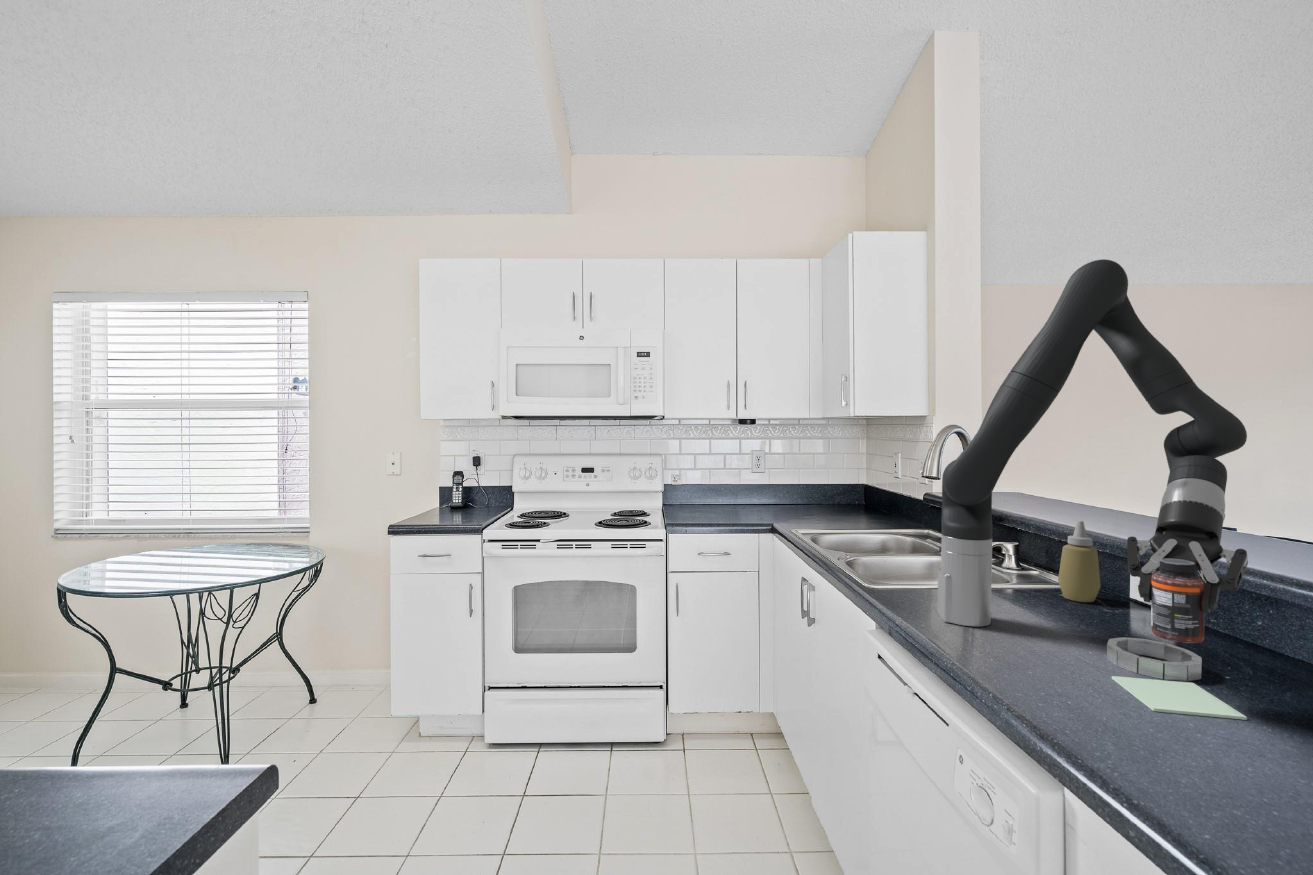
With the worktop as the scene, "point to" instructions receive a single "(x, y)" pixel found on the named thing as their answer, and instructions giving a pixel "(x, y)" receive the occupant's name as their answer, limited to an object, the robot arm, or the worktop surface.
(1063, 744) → the worktop surface
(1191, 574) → the supplement bottle
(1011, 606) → the worktop surface
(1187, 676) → the holder ring
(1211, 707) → the mat
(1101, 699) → the worktop surface
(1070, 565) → the squeeze bottle
